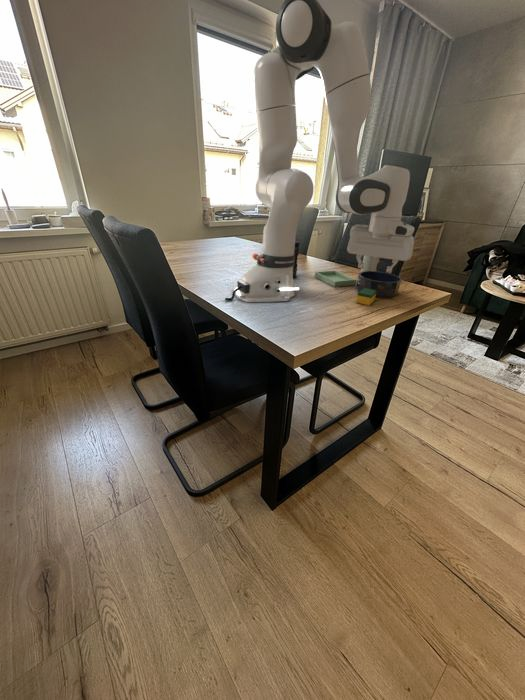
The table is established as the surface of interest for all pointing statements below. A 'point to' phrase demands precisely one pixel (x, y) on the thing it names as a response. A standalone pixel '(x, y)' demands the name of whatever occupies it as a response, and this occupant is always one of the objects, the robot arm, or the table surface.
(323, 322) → the table surface
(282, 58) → the robot arm
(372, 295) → the sponge
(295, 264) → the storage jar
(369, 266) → the spray can
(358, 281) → the bowl
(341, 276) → the dish
